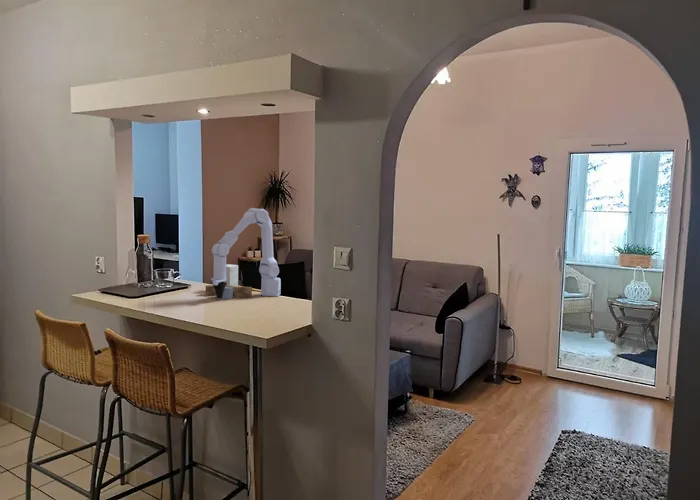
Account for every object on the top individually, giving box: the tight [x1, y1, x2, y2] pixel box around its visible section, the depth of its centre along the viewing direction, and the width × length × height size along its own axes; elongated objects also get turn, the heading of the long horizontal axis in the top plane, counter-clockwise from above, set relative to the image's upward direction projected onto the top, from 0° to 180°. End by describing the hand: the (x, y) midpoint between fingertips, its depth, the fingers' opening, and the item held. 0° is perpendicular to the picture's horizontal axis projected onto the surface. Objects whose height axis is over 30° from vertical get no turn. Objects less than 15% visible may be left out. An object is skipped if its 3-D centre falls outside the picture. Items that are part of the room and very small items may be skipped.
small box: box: [223, 263, 239, 286], centre depth 276 cm, size 8×6×13 cm
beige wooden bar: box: [205, 284, 253, 298], centre depth 263 cm, size 22×4×4 cm, turn 86°
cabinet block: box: [215, 287, 234, 300], centre depth 257 cm, size 8×4×5 cm, turn 87°
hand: (219, 298), depth 251 cm, fingers closed
